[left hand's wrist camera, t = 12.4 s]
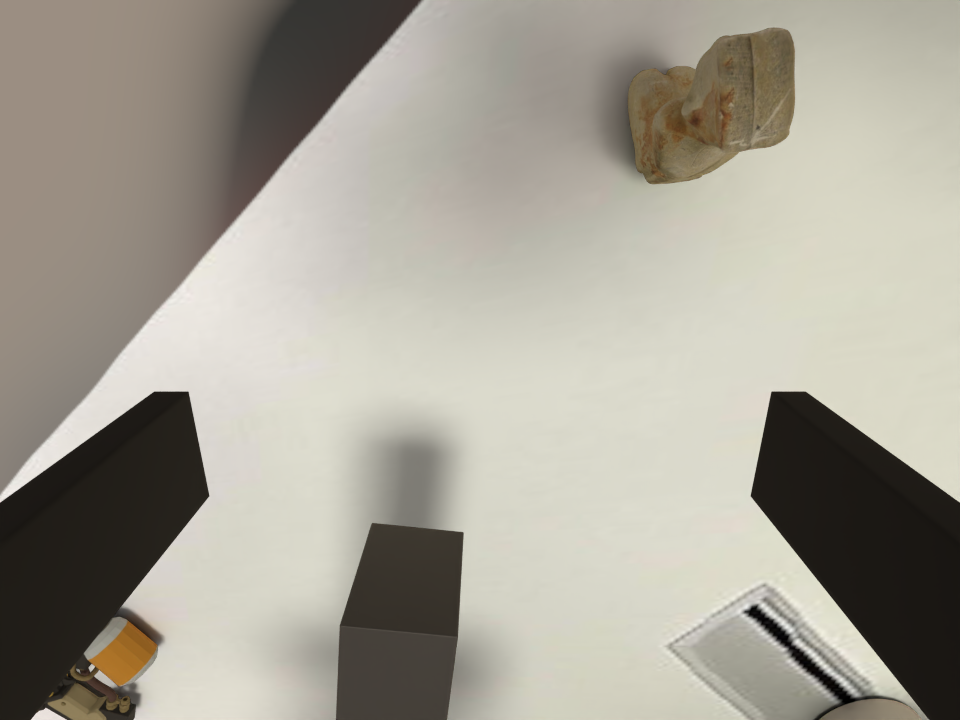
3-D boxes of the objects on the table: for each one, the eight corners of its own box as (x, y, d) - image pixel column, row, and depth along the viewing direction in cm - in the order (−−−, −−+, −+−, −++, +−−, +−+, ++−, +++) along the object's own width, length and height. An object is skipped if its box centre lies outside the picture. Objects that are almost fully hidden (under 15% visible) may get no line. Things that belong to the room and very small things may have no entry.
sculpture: (702, 66, 37) (837, 11, 23) (696, 178, 40) (815, 189, 26) (615, 74, 37) (698, 23, 23) (615, 184, 40) (689, 200, 26)
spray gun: (132, 721, 60) (-2, 659, 57) (189, 632, 54) (43, 559, 52) (105, 763, 56) (-40, 698, 53) (163, 670, 50) (4, 593, 48)
